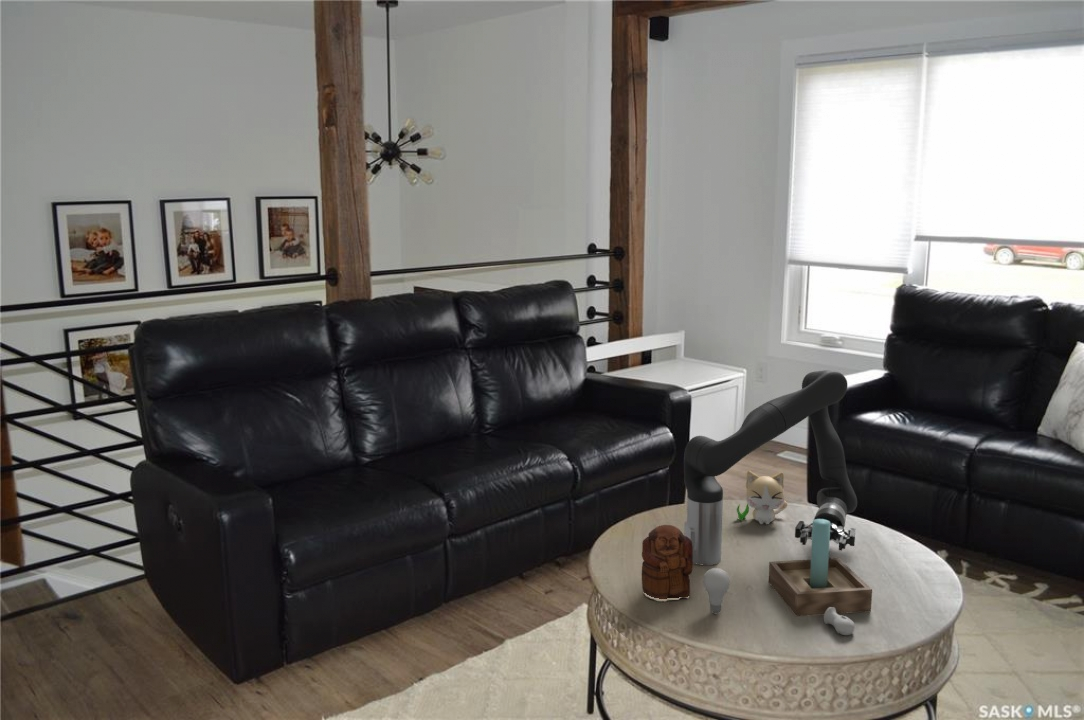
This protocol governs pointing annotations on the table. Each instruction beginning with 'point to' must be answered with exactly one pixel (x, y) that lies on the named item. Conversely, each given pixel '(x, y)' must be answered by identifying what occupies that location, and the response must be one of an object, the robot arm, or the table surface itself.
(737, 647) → the table surface
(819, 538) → the peg
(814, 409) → the robot arm
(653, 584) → the wooden figurine
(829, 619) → the pale two-lobed sculpture
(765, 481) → the kitten
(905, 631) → the table surface
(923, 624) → the table surface
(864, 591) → the box
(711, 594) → the lightbulb
